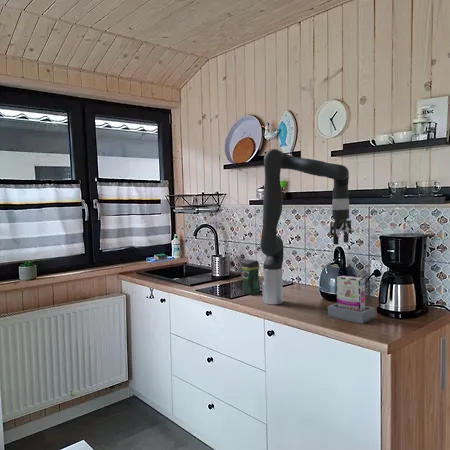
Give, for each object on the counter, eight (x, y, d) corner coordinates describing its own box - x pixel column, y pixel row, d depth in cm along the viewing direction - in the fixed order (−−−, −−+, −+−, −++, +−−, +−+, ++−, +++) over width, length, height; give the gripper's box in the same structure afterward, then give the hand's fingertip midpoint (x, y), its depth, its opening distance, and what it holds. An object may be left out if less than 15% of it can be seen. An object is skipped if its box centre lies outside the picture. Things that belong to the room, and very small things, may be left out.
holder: (327, 316, 182) (327, 306, 182) (340, 311, 189) (340, 301, 189) (362, 323, 170) (362, 313, 170) (374, 318, 177) (374, 307, 177)
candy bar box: (366, 315, 177) (365, 277, 176) (360, 318, 174) (359, 279, 173) (342, 311, 186) (342, 274, 184) (336, 313, 182) (336, 276, 181)
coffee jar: (262, 293, 228) (261, 259, 226) (251, 296, 223) (250, 261, 222) (250, 290, 235) (249, 258, 234) (239, 293, 230) (239, 259, 229)
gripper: (341, 207, 200) (342, 241, 201) (324, 209, 190) (325, 244, 192) (356, 207, 195) (356, 242, 196) (339, 209, 185) (339, 245, 186)
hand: (341, 243), depth 194 cm, fingers open, 8 cm apart
